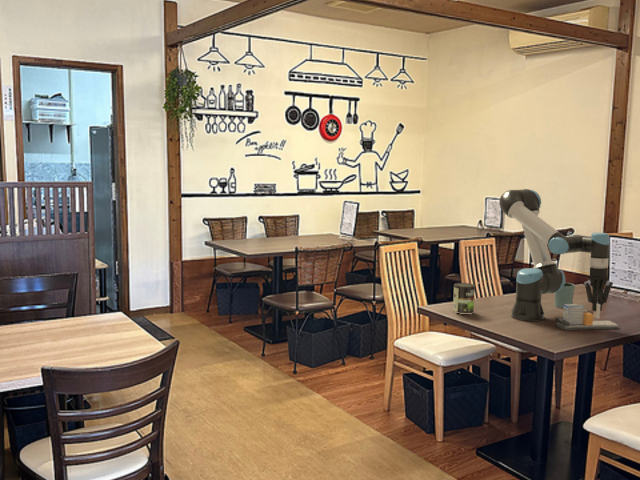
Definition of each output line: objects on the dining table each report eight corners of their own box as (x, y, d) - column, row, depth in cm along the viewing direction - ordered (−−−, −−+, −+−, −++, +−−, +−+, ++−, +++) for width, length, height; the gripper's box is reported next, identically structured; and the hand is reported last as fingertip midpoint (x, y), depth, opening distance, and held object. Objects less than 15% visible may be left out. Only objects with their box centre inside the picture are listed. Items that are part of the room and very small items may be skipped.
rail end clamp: (586, 325, 278) (587, 312, 277) (576, 320, 287) (576, 307, 286) (592, 325, 278) (593, 312, 277) (582, 319, 287) (582, 307, 286)
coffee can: (478, 312, 308) (479, 285, 306) (465, 316, 301) (466, 287, 300) (461, 308, 316) (462, 281, 314) (448, 311, 309) (449, 284, 307)
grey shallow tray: (565, 330, 277) (565, 323, 277) (555, 324, 286) (555, 318, 286) (619, 329, 280) (620, 321, 279) (608, 323, 289) (609, 316, 288)
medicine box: (578, 322, 285) (579, 303, 283) (583, 324, 280) (584, 306, 279) (562, 322, 284) (563, 303, 283) (566, 324, 279) (567, 306, 278)
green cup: (570, 304, 326) (571, 282, 324) (576, 309, 316) (577, 286, 314) (550, 304, 327) (551, 282, 325) (555, 308, 317) (557, 286, 315)
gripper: (589, 268, 275) (586, 320, 278) (617, 268, 276) (614, 319, 279) (581, 265, 282) (578, 316, 285) (608, 265, 283) (606, 315, 286)
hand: (596, 317), depth 282 cm, fingers closed
